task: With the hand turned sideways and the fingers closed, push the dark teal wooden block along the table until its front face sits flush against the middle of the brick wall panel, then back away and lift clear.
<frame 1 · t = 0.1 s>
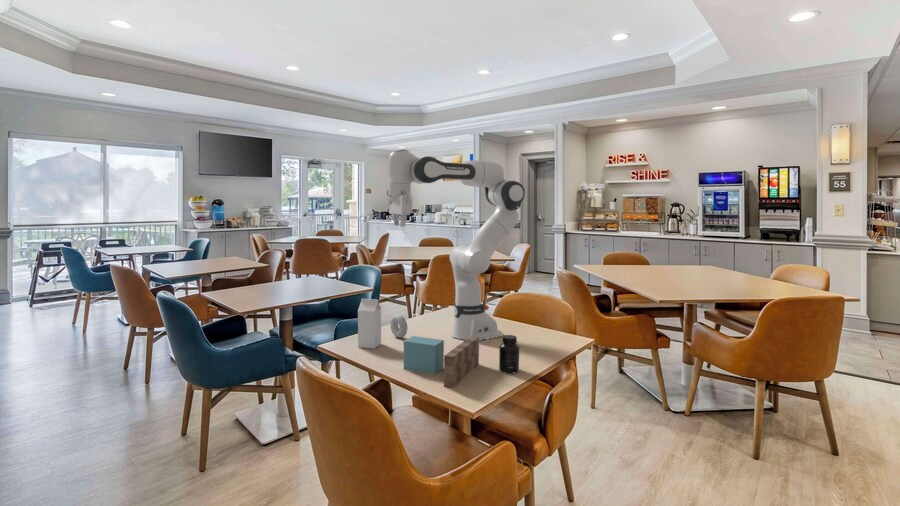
hand: (399, 226, 187), 48 cm above the table, tool pointing down, fingers open, 8 cm apart
teal block: (423, 368, 162), on the table
supplement bottle: (508, 371, 161), on the table
milk carton: (369, 346, 187), on the table
donut: (398, 338, 199), on the table
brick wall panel: (462, 374, 157), on the table
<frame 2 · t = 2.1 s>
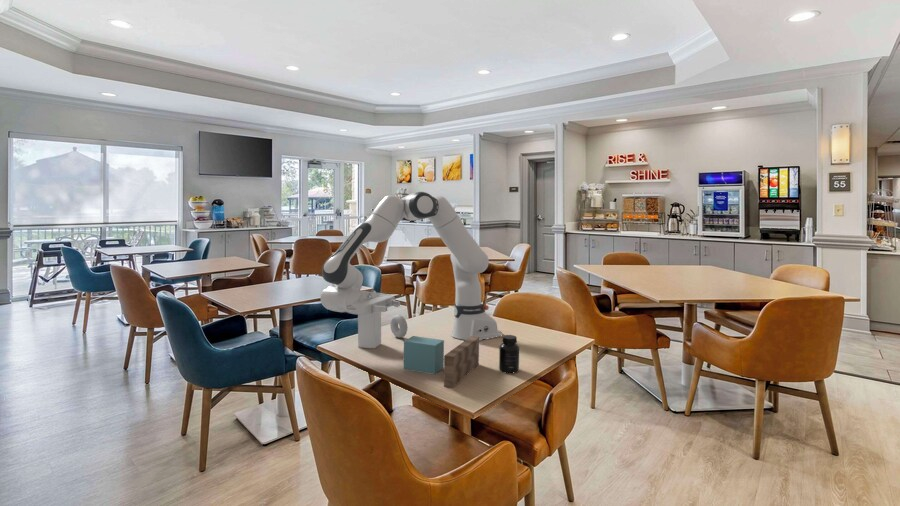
hand: (393, 306, 166), 20 cm above the table, tool horizontal, fingers open, 8 cm apart
nothing on the table moved.
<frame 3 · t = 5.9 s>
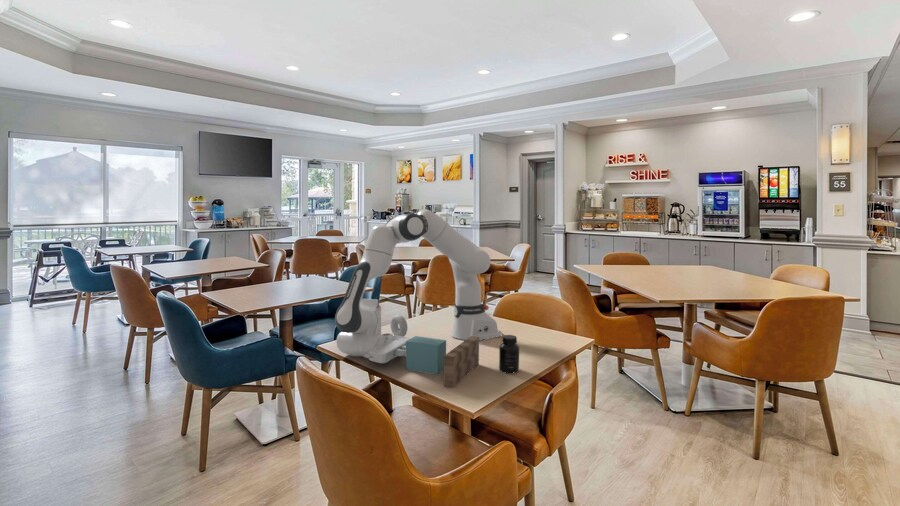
hand: (410, 352, 164), 5 cm above the table, tool horizontal, fingers closed, pressing on teal block
teal block: (426, 368, 162), on the table, touching gripper
everything else where it was.
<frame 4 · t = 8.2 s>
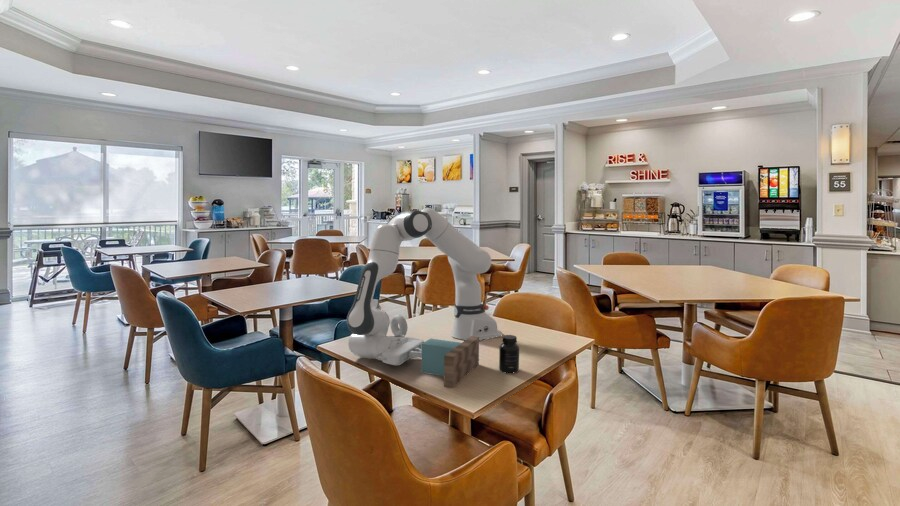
hand: (424, 354, 162), 5 cm above the table, tool horizontal, fingers closed
teal block: (441, 371, 160), on the table
everything else where it was.
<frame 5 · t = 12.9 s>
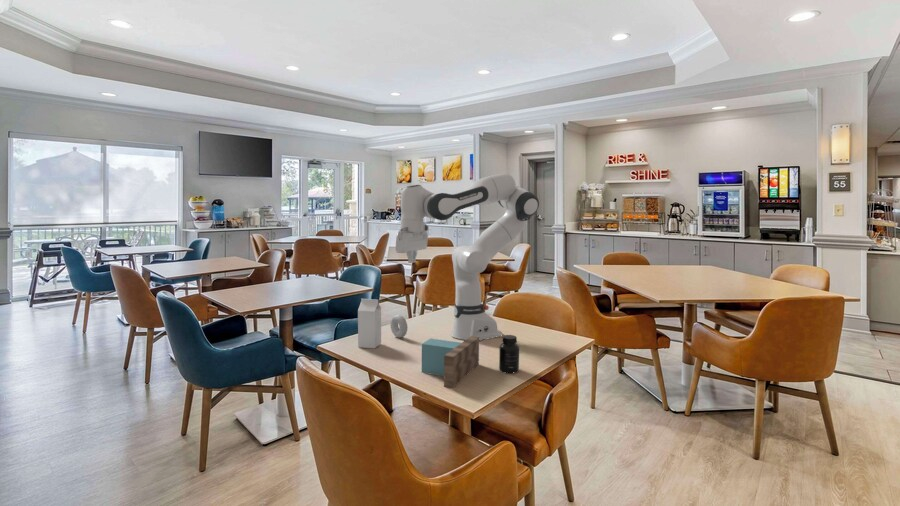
hand: (411, 262, 182), 34 cm above the table, tool pointing down, fingers closed
nothing on the table moved.
at the end: teal block 0.1 cm from the target spot on the table beside the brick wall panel, on the table; teal block tilted 0°; teal block moved 7.0 cm from its start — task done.
